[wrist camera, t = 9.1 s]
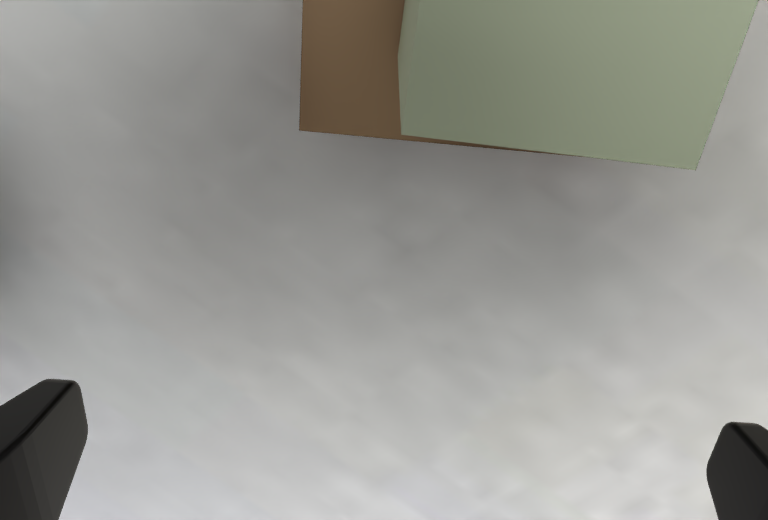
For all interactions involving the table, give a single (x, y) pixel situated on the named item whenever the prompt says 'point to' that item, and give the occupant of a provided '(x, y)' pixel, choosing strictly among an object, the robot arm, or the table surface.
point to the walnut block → (355, 70)
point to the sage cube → (571, 74)
